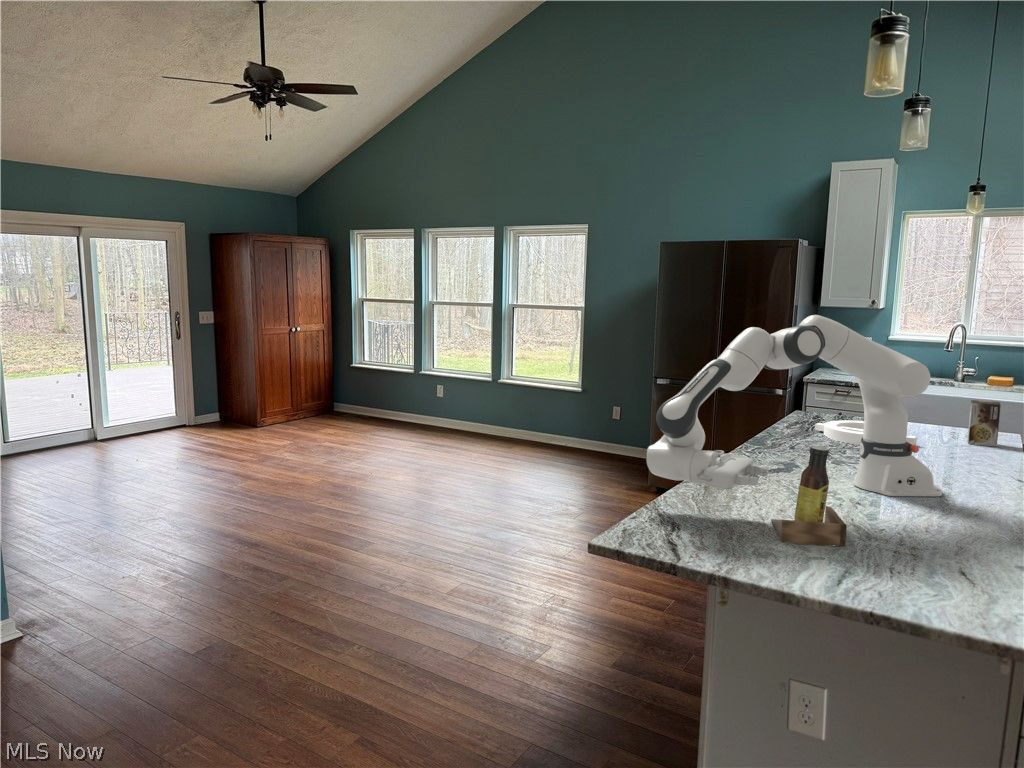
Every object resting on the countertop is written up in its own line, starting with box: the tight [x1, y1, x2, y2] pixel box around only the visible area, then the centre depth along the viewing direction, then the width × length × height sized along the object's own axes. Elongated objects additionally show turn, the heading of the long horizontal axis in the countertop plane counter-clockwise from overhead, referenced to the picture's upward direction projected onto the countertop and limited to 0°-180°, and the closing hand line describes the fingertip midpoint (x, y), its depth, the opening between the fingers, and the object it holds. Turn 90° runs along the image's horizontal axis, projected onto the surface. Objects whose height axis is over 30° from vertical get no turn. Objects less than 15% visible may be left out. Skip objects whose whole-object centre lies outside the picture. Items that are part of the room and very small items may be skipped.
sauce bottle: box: [793, 445, 830, 523], centre depth 158 cm, size 6×6×20 cm
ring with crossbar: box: [814, 419, 918, 446], centre depth 261 cm, size 28×28×5 cm
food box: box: [966, 399, 1002, 447], centre depth 251 cm, size 9×6×16 cm
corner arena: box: [770, 505, 847, 547], centre depth 159 cm, size 14×14×5 cm
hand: (763, 477), depth 164 cm, fingers open, 8 cm apart
